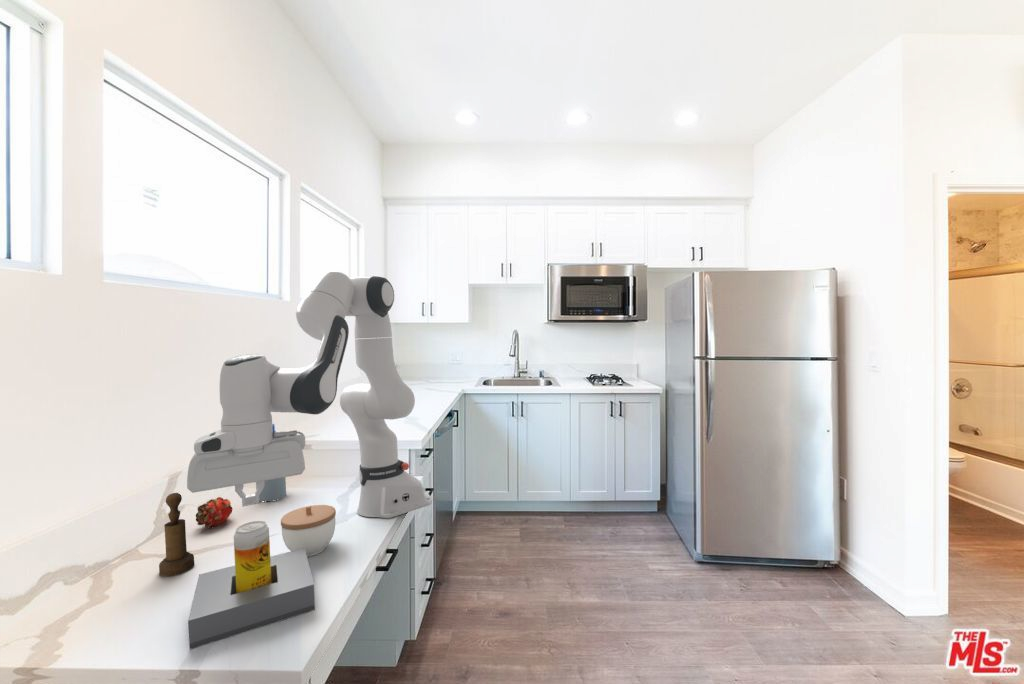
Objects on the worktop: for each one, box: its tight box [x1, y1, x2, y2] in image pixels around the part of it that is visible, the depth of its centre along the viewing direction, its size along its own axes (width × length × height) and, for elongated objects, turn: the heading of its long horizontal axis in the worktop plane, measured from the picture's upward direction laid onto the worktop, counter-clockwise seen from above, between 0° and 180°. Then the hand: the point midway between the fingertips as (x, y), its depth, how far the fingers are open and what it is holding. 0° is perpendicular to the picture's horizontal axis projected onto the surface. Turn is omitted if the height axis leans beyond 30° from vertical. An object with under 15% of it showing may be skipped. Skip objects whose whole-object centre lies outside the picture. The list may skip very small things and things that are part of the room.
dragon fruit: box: [195, 496, 234, 529], centre depth 130 cm, size 8×8×12 cm
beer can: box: [233, 520, 272, 594], centre depth 89 cm, size 6×6×15 cm
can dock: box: [187, 548, 316, 650], centre depth 90 cm, size 20×18×5 cm
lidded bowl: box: [280, 504, 337, 558], centre depth 112 cm, size 13×13×11 cm
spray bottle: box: [255, 423, 287, 503], centre depth 152 cm, size 9×9×25 cm
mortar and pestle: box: [158, 492, 195, 577], centre depth 105 cm, size 7×6×18 cm
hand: (250, 504), depth 89 cm, fingers closed
